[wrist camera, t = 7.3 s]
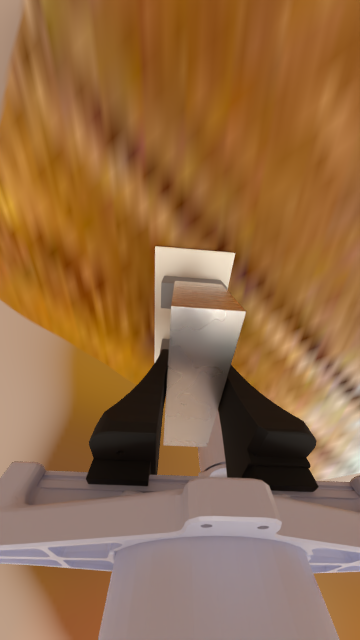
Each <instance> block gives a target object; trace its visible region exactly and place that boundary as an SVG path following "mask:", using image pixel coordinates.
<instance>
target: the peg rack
mask: <svg viewBox="0 0 360 640" xmlns="http://www.w3.org/2000/svg"><path fill="white" fill-rule="evenodd" d="M234 257H235V253H233V252H222V251H210V250H198V249H186V248H174V247H162V246H155V357H154V363H155V362H156V360H157V359H158V357H159V355H160V353H161V350H162V349H169V338H170V320H171V304H172V297H173V290H174V283H175V281H186V282H199V283H212V284H222V285H223V286H224V288H225V289H226V290H227V289H228V284H229V280H230V275H231V271H232V266H233V261H234Z"/></svg>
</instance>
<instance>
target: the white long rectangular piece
mask: <svg viewBox="0 0 360 640" xmlns="http://www.w3.org/2000/svg"><path fill="white" fill-rule="evenodd" d="M245 314H246V311H245V310H244V309H243V308H242V306H241V305H240V304H239V303H238V302H237V301H236V300H235V299H234V298H233V296H232V295H231V294H230V293H229V292H228V291H227V290H226V289H225V288H224V286H223V285H222V284H212V283H199V282H186V281H175V283H174V290H173V297H172V304H171V320H170V338H169V356H168V374H167V392H166V410H165V428H164V445H172V446H195V447H207V445H208V441H209V438H210V434H211V431H212V428H213V424H214V421H215V417H216V414H217V410H218V407H219V403H220V400H221V396H222V393H223V390H224V386H225V383H226V379H227V376H228V372H229V369H230V365H231V362H232V358H233V355H234V352H235V348H236V345H237V341H238V338H239V334H240V331H241V327H242V324H243V320H244V317H245Z"/></svg>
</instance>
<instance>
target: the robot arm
mask: <svg viewBox="0 0 360 640" xmlns="http://www.w3.org/2000/svg"><path fill="white" fill-rule="evenodd" d="M168 356H169V349H162V350H161V353H160V355H159V357H158V359H157V360H156V362H155V363H154V365H153V367H152V368H151V369H150V371H149V372H148V373H147V375H146V376H145V377H144V378H143V379H142V380H141V382H140V383H139V384H138V385H137V386H136V387H135V388H134V389H133V390H132V391H131V392H130V393H128V394H127V395H126V396H125V397H124V398H123V399H121V400H120V401H119V402H118V403H116V404H115V405H114V406H112V407H111V408H109V409H108V410H107V411H105V412H104V414H103V415H102V417H101V418H100V420H99V422H98V423H97V425H96V427H95V429H94V432H93V434H92V436H91V438H90V441H89V446H90V449H91V451H92V454H93V457H94V459H93V461H92V464H91V467H90V469H89V472H67V471H65V472H64V471H45V468H44V466H43V465H42V464H40V463H36V462H18V461H15V462H12V463H11V465H10V466H9V467H8V468H7V470H6V471H5V472H4V474H3V475H2V476H1V478H0V563H1V564H23V565H40V566H52V567H65V568H77V569H90V570H103V571H112V574H111V579H110V584H109V589H108V594H107V599H106V604H105V609H104V614H103V618H102V623H101V628H100V633H99V638H98V640H339V637H338V635H337V632H336V630H335V627H334V625H333V622H332V620H331V617H330V615H329V612H328V610H327V607H326V605H325V602H324V600H323V597H322V595H321V592H320V589H319V587H318V584H317V582H316V579H315V577H314V574H313V573H331V572H360V476H356V477H354V478H353V479H352V480H351V481H350V482H330V481H315V479H314V477H313V475H312V474H311V472H310V470H309V468H310V463H309V462H308V460H307V458H306V457H307V456H308V455H309V454H310V453H311V452H312V450H313V449H314V448H315V446H316V439H315V437H314V436H313V434H312V433H311V431H310V430H309V428H308V427H307V426H306V424H305V423H304V421H302V420H300V419H299V418H297V417H295V416H293V415H292V414H290V413H288V412H287V411H285V410H283V409H282V408H280V407H279V406H277V405H276V404H274V403H273V402H272V401H270V400H269V399H267V398H266V397H265V396H264V395H262V394H261V393H260V392H258V391H257V390H256V389H255V388H254V387H253V386H251V385H250V384H249V383H248V382H247V381H246V380H245V379H244V378H243V377H242V376H241V375H240V374H239V373H238V372H237V371H236V370H235V369H234V368H233V366H232V365H230V369H229V372H228V376H227V379H226V383H225V386H224V390H223V393H222V396H221V400H220V403H219V407H218V410H217V414H216V417H215V421H214V424H213V428H212V431H211V434H210V438H209V441H208V445H207V447H198V451H199V462H200V463H199V464H200V470H201V472H200V473H199V476H172V475H157V470H158V459H159V447H160V437H161V426H162V415H163V408H164V402H165V396H166V391H167V374H168Z"/></svg>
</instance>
